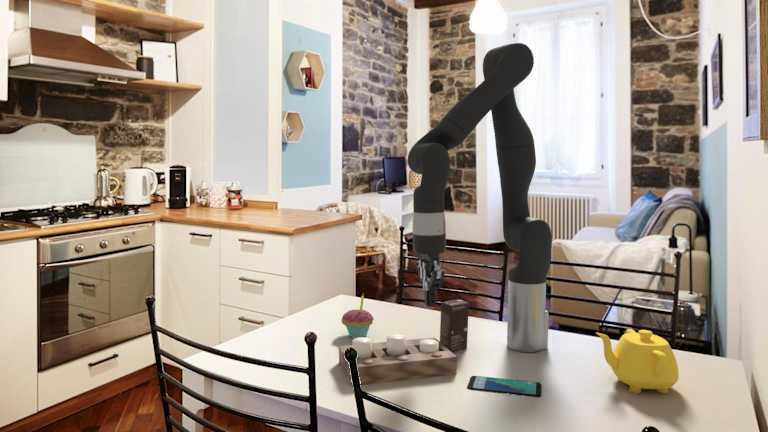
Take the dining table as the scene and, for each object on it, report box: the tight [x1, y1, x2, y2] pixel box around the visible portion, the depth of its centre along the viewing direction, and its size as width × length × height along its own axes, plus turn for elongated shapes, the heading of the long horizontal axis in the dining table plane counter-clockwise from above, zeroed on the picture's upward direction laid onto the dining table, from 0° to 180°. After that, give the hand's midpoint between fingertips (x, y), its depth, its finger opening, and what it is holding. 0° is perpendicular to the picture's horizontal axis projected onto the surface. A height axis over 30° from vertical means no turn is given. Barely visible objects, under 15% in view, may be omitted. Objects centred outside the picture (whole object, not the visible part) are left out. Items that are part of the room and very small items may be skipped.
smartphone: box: [466, 375, 542, 398], centre depth 118 cm, size 7×1×15 cm
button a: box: [420, 339, 440, 353], centre depth 131 cm, size 4×4×4 cm
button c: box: [351, 336, 373, 360], centre depth 126 cm, size 4×4×4 cm
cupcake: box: [341, 292, 375, 339], centre depth 152 cm, size 9×8×12 cm
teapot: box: [595, 328, 680, 394], centre depth 119 cm, size 14×14×12 cm
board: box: [338, 337, 458, 387], centre depth 129 cm, size 24×14×4 cm, turn 105°
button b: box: [386, 333, 407, 357], centre depth 128 cm, size 4×4×4 cm
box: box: [439, 298, 470, 352], centre depth 142 cm, size 6×4×12 cm
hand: (430, 305), depth 129 cm, fingers closed
